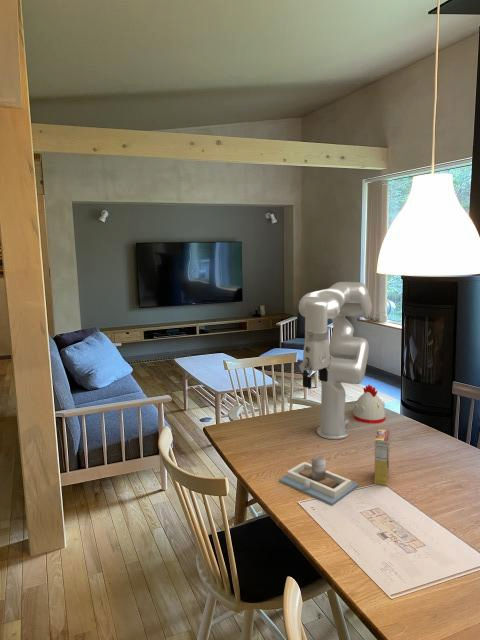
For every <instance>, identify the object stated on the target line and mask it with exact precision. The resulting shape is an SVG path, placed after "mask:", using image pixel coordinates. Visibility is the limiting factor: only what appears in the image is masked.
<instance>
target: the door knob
mask: <svg viewBox="0 0 480 640" xmlns="http://www.w3.org/2000/svg"><path fill="white" fill-rule="evenodd" d="M326 462H327V460H326V458H325V457H323V456H313V457H311V465H312V470H310V469H308V468H306V469H304V470H302V471H300V472H299V474H300V475H302V476H304V477H307V478H309V479H311V480H314V481H316V482H318V483H321V484H323V485H325V486H328V487H330V488H332V489H334V488H336V487H337V486H339V482H337V481H334V480H332V479H330V478H328V477H326V476H325V472H326V471H327V470H326V465H327V464H326Z"/></svg>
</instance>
